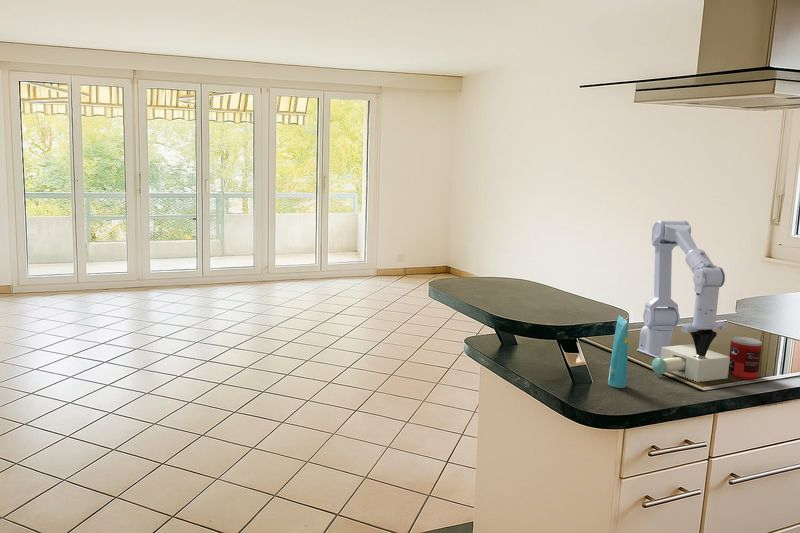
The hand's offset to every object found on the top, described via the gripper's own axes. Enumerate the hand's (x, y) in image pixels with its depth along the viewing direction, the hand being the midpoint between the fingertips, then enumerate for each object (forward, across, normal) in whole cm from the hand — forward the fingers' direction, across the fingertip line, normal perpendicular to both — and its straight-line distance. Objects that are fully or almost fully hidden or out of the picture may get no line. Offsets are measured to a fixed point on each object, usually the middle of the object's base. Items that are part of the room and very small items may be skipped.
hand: (700, 355), depth 178 cm
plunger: (+4, 0, 0) cm, 4 cm away
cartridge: (+6, -2, +5) cm, 8 cm away
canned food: (+7, +15, -2) cm, 17 cm away
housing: (+7, +3, +5) cm, 9 cm away
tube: (+7, -27, +3) cm, 28 cm away
